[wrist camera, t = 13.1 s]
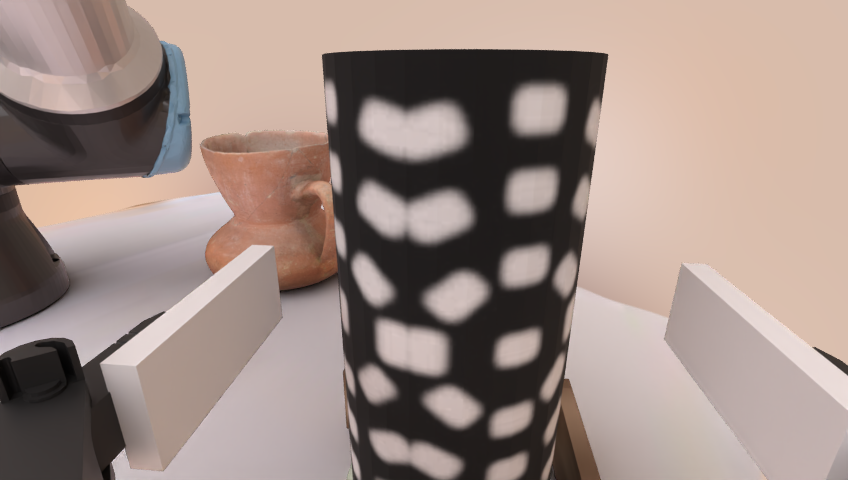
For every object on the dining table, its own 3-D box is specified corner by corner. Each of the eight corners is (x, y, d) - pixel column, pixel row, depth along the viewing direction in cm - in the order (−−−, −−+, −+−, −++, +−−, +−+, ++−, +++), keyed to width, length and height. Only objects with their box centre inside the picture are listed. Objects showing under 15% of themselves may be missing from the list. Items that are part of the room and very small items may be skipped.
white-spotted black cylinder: (481, 434, 26) (504, 61, 19) (581, 575, 18) (679, 53, 11) (339, 481, 23) (301, 58, 16) (391, 672, 15) (366, 46, 8)
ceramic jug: (181, 270, 47) (153, 135, 42) (299, 235, 57) (288, 122, 52) (271, 337, 36) (248, 164, 31) (397, 279, 46) (396, 141, 41)
